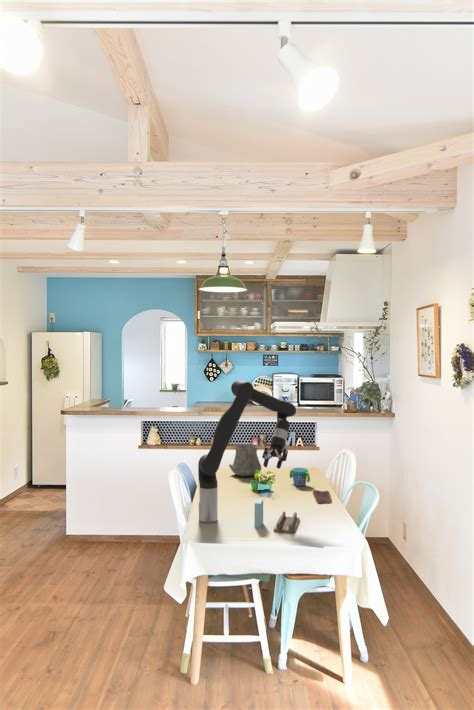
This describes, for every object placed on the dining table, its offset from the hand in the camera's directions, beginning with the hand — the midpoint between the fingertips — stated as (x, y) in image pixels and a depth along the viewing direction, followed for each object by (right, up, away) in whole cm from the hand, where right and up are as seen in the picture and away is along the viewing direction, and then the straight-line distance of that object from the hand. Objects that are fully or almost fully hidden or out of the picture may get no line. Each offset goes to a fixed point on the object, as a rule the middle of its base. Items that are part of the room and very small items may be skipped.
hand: (271, 467), depth 282 cm
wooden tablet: (+32, -26, +36) cm, 54 cm away
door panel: (-7, -26, -13) cm, 30 cm away
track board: (+7, -26, -13) cm, 30 cm away
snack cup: (+22, -25, +62) cm, 70 cm away
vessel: (-12, -24, +89) cm, 93 cm away
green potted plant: (-4, -25, +53) cm, 58 cm away
